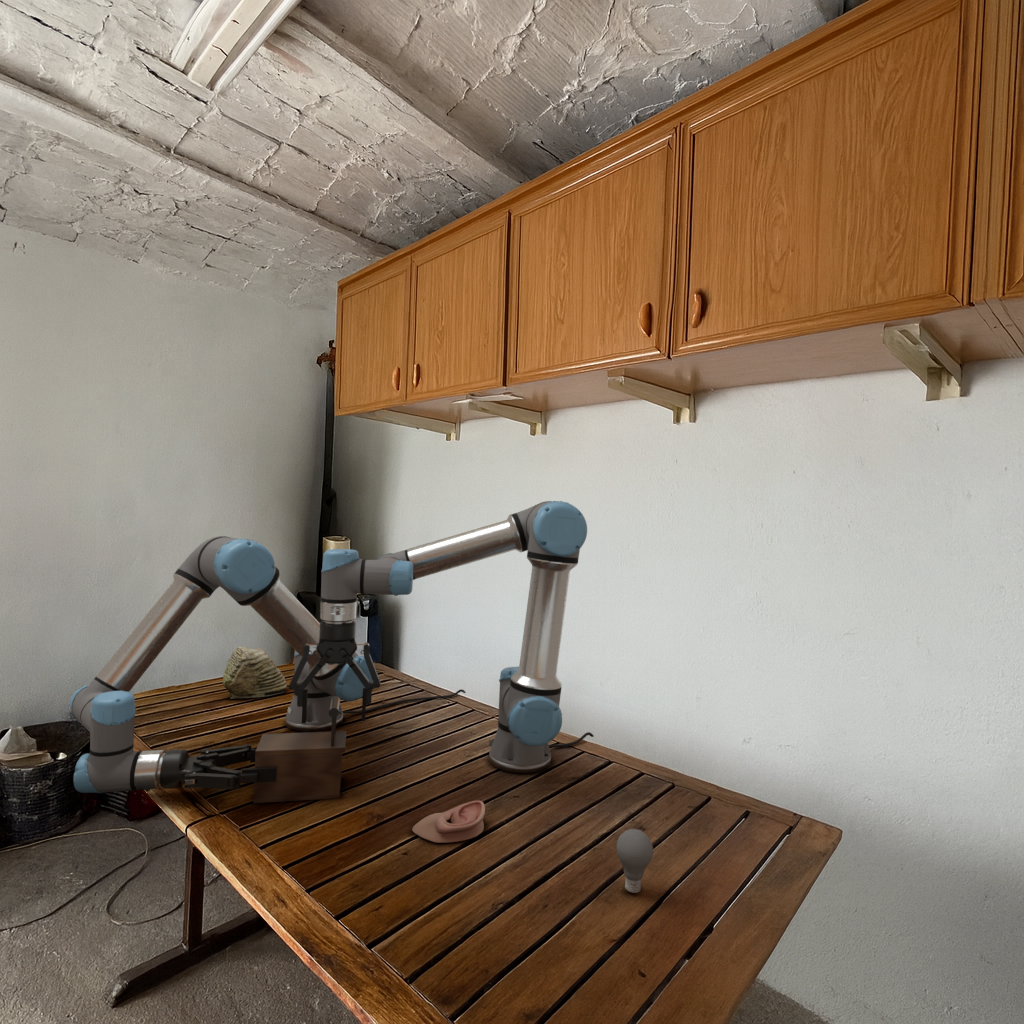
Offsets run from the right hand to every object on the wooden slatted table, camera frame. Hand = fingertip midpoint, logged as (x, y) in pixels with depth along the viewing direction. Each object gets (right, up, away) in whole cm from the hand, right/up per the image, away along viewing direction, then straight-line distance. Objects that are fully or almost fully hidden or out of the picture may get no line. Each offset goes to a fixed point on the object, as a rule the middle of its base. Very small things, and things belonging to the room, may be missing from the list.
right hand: (334, 720), depth 137 cm
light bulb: (+59, -18, -32) cm, 69 cm away
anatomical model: (+26, -16, -14) cm, 34 cm away
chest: (-7, -15, -1) cm, 16 cm away
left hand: (-11, -9, -2) cm, 14 cm away
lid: (-6, -5, -1) cm, 8 cm away
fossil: (-42, -12, +61) cm, 75 cm away
